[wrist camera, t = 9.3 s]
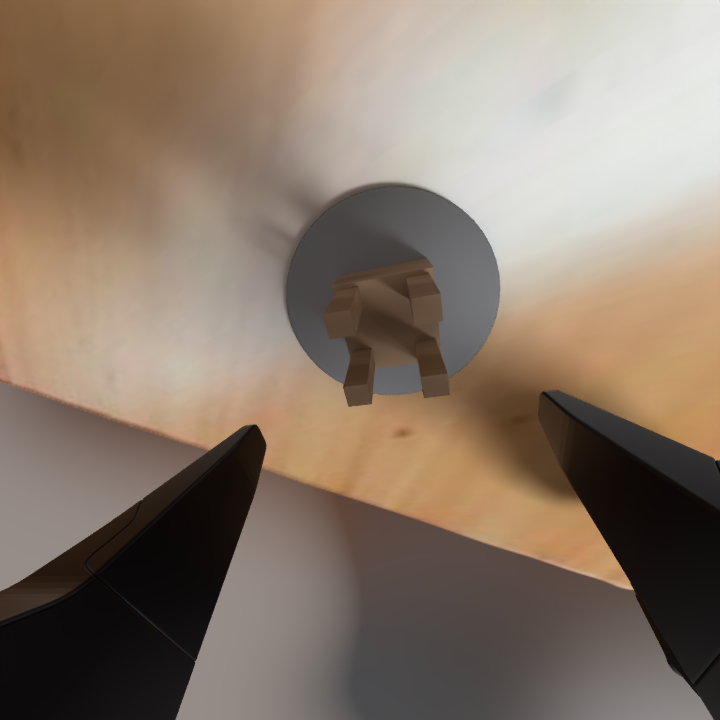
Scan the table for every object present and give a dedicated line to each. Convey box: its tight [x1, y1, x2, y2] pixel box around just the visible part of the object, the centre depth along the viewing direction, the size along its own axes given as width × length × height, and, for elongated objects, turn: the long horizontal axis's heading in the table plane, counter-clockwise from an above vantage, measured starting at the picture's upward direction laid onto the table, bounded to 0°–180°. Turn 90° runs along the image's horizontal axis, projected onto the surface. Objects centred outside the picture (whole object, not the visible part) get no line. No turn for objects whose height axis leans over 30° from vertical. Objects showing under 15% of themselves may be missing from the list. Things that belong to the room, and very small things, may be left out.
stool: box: [323, 258, 449, 407], centre depth 16 cm, size 6×6×7 cm
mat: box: [287, 187, 500, 395], centre depth 19 cm, size 14×14×1 cm
